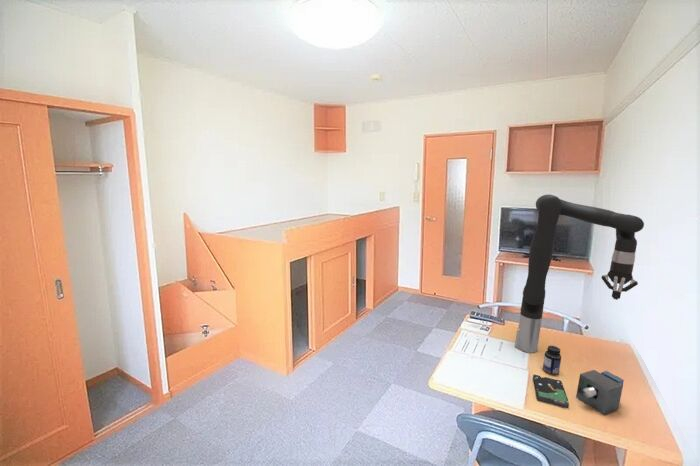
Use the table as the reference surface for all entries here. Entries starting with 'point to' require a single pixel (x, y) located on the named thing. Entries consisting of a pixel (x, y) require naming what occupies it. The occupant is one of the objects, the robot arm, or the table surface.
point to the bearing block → (600, 392)
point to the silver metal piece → (593, 391)
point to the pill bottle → (552, 360)
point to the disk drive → (550, 391)
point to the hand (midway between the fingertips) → (615, 298)
